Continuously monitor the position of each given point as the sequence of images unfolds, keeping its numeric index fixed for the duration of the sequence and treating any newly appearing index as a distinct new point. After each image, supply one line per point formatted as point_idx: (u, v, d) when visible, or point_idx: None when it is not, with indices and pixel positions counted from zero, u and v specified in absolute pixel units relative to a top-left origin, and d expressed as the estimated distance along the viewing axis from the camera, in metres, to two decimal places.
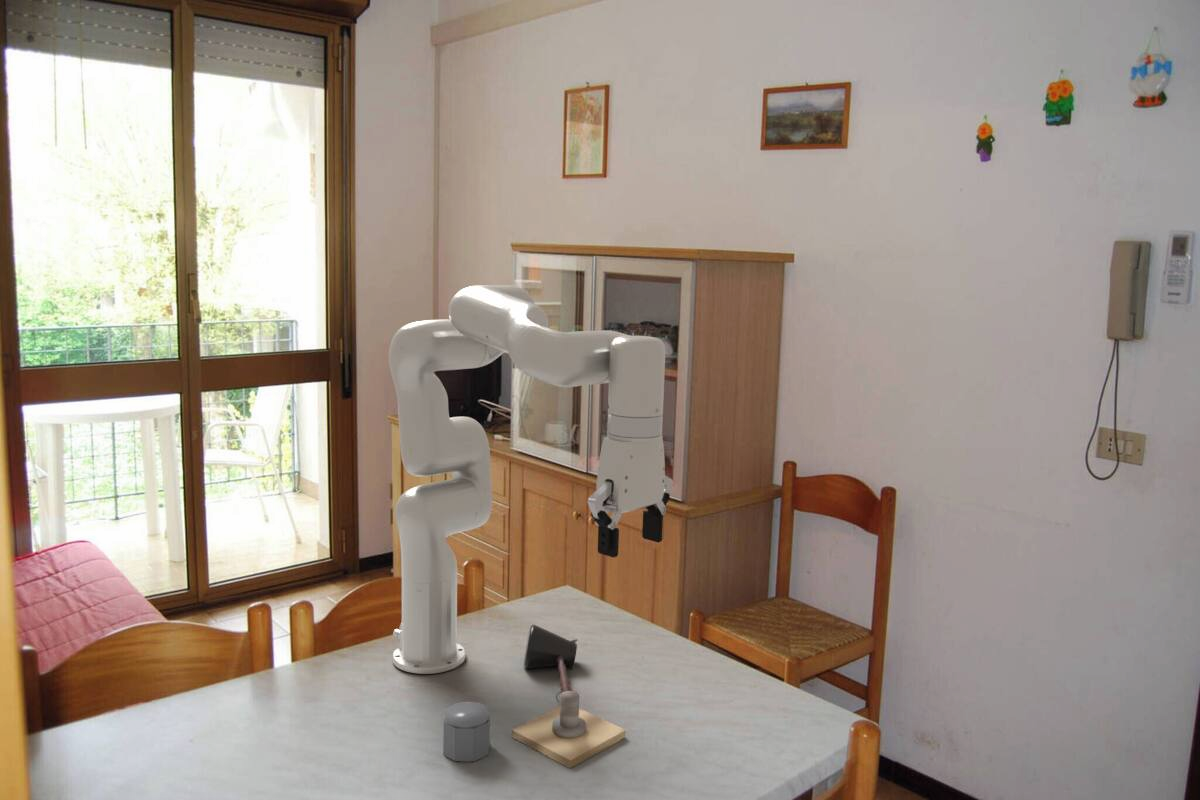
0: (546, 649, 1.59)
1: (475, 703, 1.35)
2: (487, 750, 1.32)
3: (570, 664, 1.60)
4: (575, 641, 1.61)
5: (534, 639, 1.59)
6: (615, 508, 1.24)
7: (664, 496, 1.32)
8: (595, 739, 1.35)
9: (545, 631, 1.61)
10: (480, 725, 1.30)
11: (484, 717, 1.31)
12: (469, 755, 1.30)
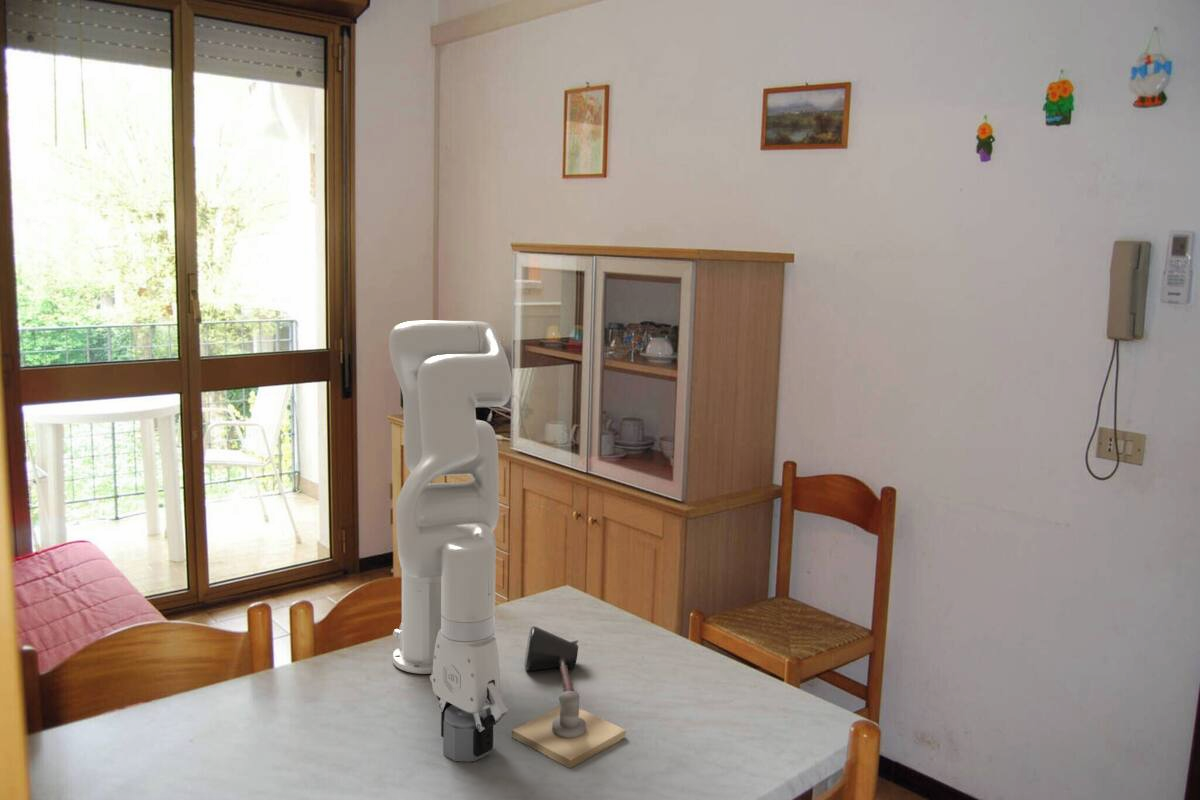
0: (547, 651, 1.58)
1: None
2: None
3: (571, 665, 1.60)
4: (576, 642, 1.61)
5: (535, 641, 1.58)
6: (490, 706, 1.30)
7: None
8: (595, 739, 1.35)
9: (546, 633, 1.60)
10: None
11: (484, 717, 1.31)
12: (469, 755, 1.30)
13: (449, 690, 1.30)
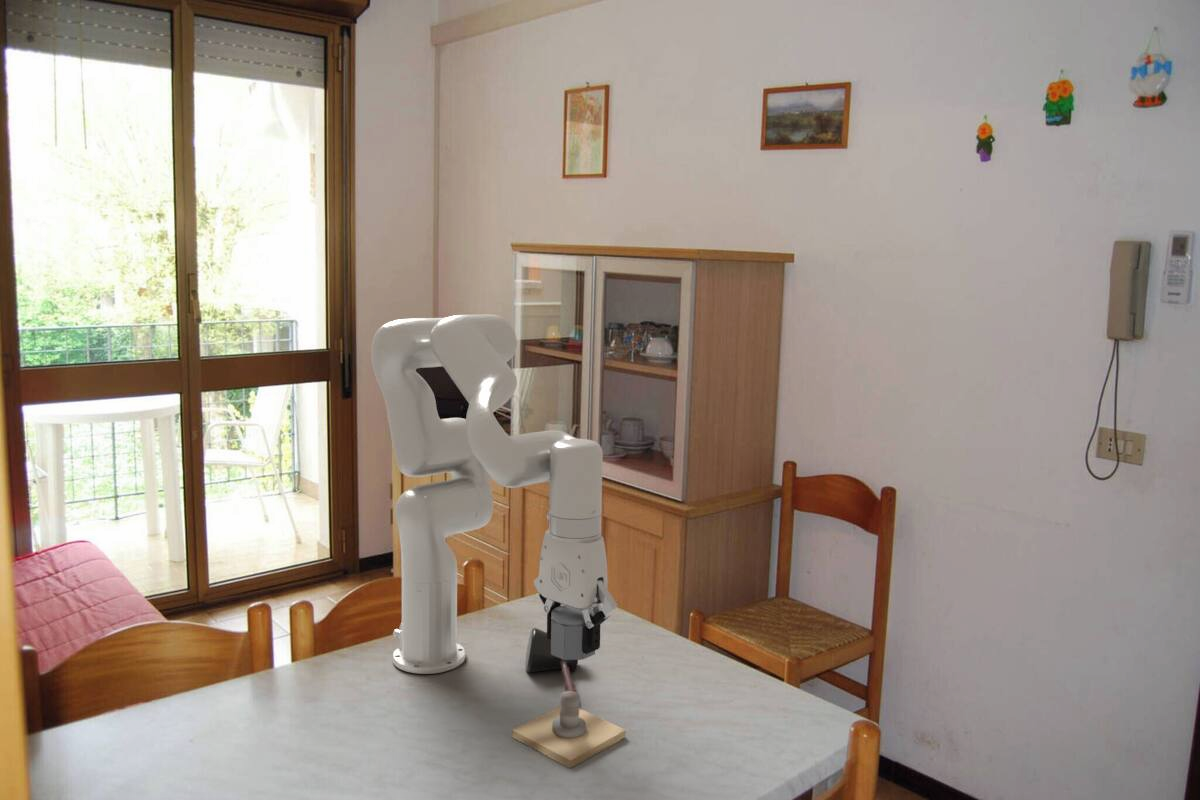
0: (549, 652, 1.58)
1: None
2: None
3: (573, 667, 1.59)
4: None
5: (537, 643, 1.57)
6: (597, 604, 1.32)
7: None
8: (595, 739, 1.35)
9: None
10: None
11: None
12: (578, 653, 1.32)
13: (557, 589, 1.32)
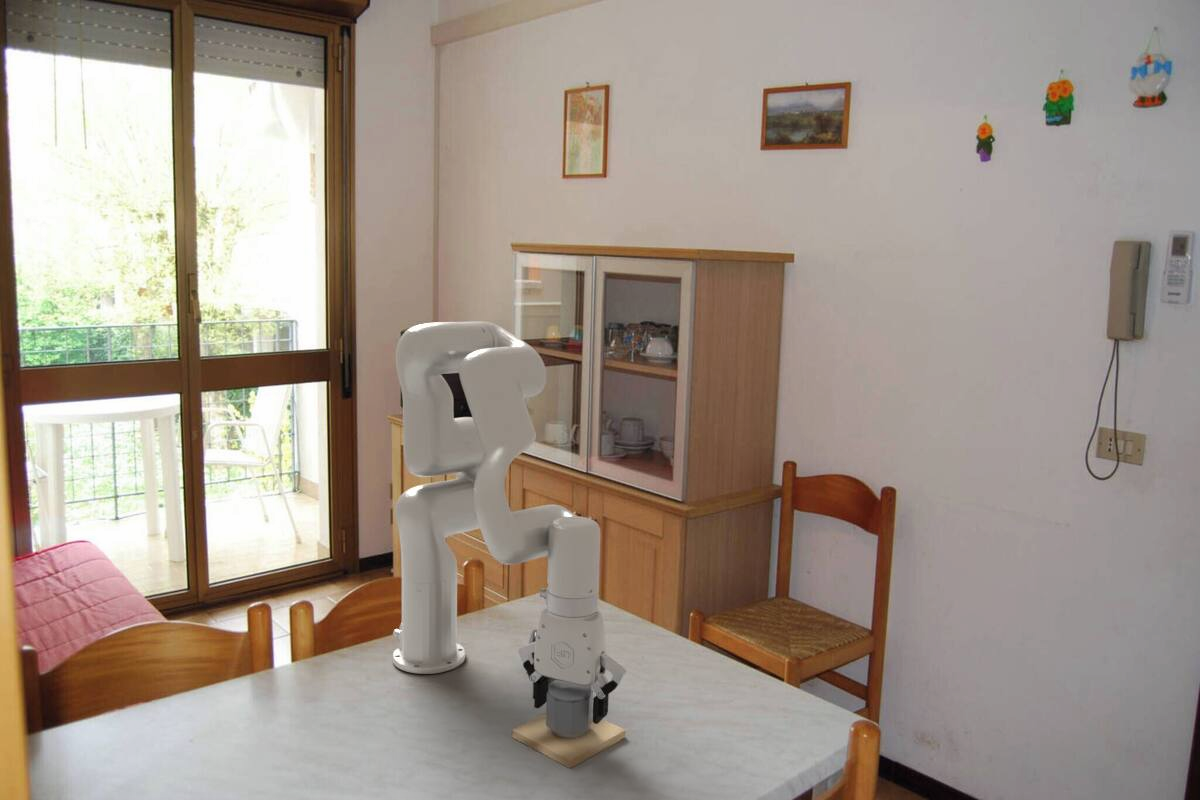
0: None
1: (554, 681, 1.38)
2: None
3: None
4: None
5: None
6: (601, 674, 1.35)
7: None
8: (595, 739, 1.35)
9: None
10: None
11: None
12: (591, 718, 1.37)
13: (558, 666, 1.34)
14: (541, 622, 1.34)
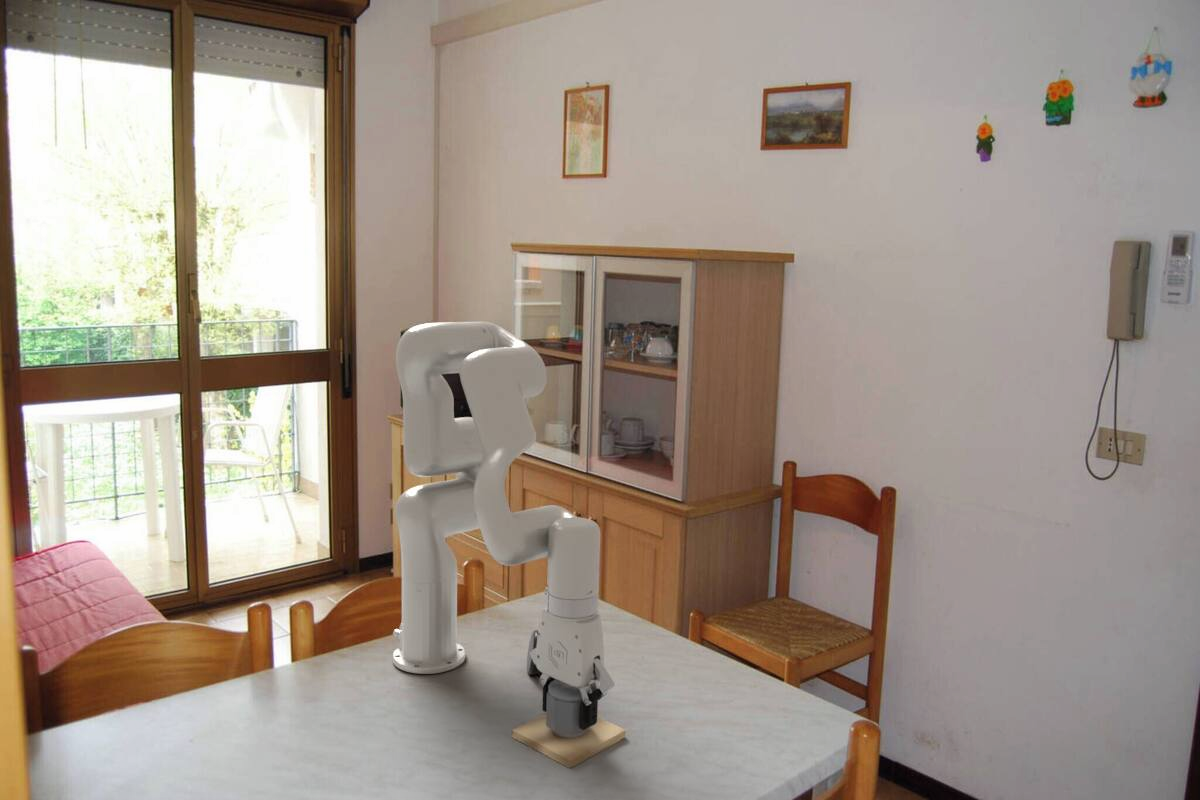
0: None
1: (554, 681, 1.38)
2: None
3: None
4: None
5: None
6: (594, 681, 1.34)
7: None
8: (595, 739, 1.35)
9: None
10: None
11: None
12: None
13: (554, 665, 1.34)
14: (541, 619, 1.36)
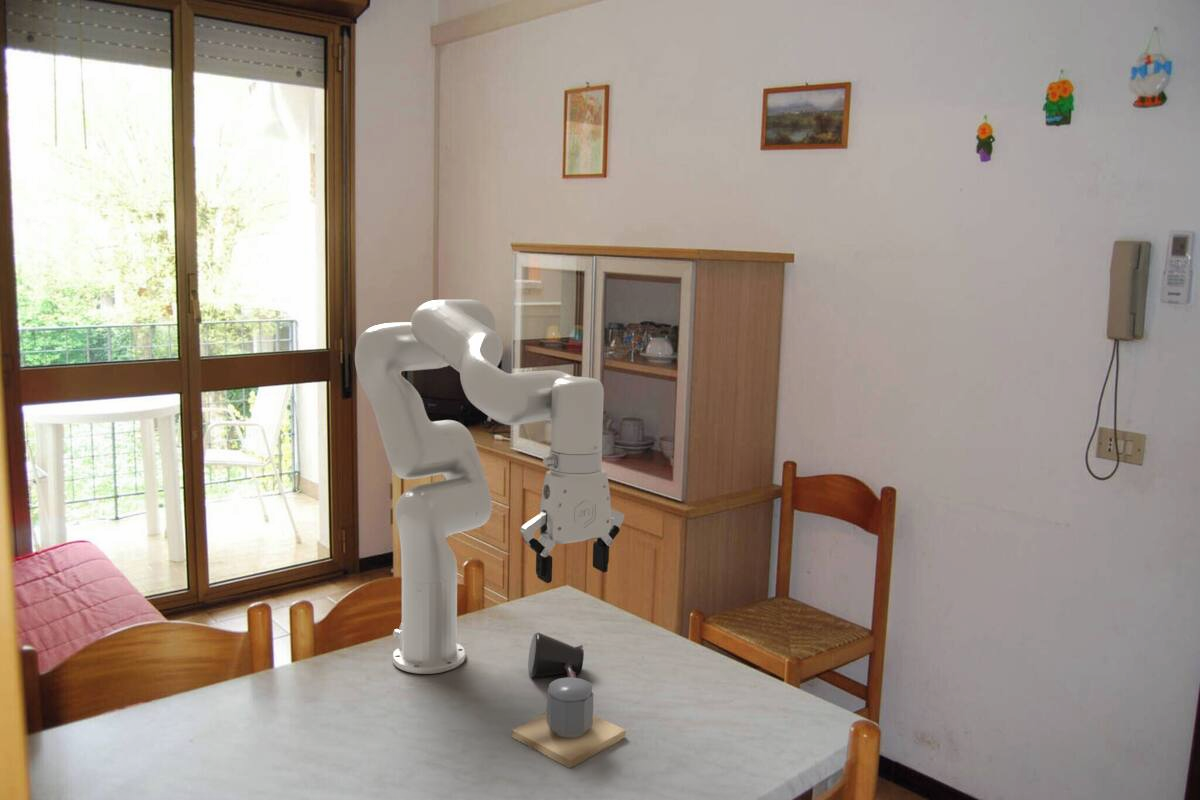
0: (554, 657, 1.56)
1: (555, 692, 1.35)
2: None
3: (577, 671, 1.58)
4: (581, 647, 1.59)
5: (541, 647, 1.55)
6: None
7: None
8: (595, 739, 1.35)
9: (550, 639, 1.58)
10: None
11: (561, 678, 1.39)
12: None
13: (581, 527, 1.33)
14: (561, 488, 1.31)
